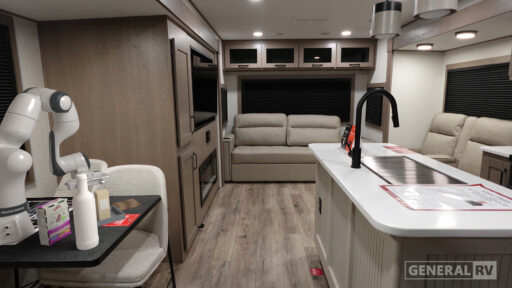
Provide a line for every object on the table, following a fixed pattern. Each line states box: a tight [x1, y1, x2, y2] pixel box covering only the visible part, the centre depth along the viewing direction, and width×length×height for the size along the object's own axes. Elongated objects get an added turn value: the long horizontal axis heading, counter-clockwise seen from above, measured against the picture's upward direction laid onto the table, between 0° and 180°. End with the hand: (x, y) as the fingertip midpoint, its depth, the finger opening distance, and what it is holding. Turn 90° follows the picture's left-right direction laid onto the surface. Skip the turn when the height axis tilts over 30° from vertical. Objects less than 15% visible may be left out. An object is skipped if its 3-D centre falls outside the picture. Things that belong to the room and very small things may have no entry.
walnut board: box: [110, 198, 143, 212], centre depth 159 cm, size 12×12×1 cm
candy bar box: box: [35, 197, 73, 247], centre depth 121 cm, size 11×5×16 cm, turn 168°
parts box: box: [93, 188, 111, 220], centre depth 141 cm, size 5×5×14 cm
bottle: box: [71, 174, 100, 251], centre depth 115 cm, size 8×8×30 cm
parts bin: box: [97, 205, 126, 228], centre depth 142 cm, size 15×15×3 cm
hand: (93, 184), depth 149 cm, fingers open, 8 cm apart
